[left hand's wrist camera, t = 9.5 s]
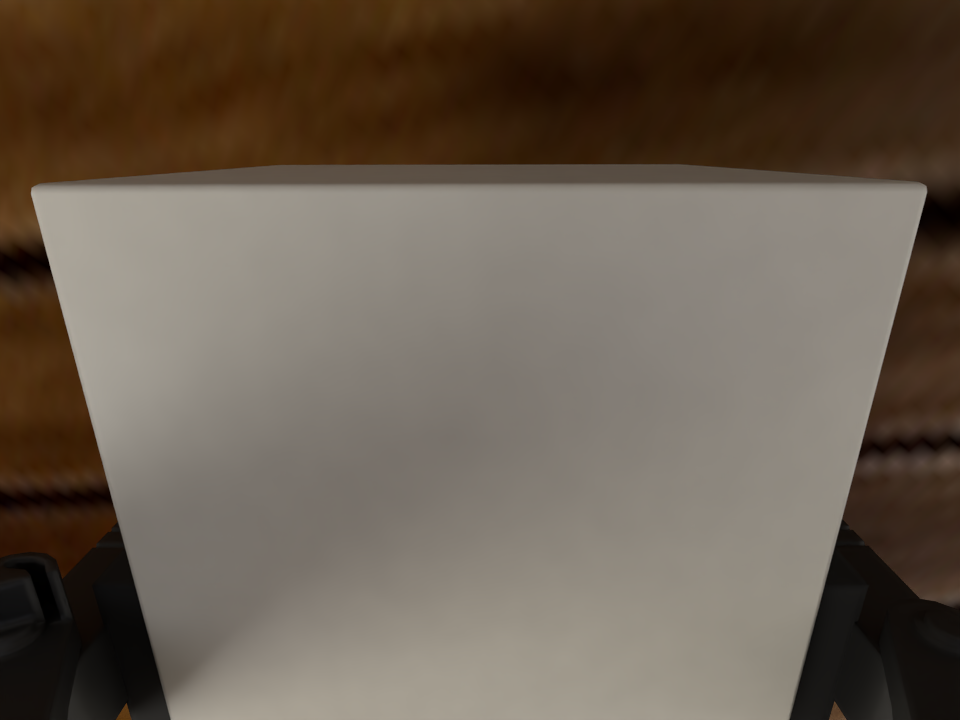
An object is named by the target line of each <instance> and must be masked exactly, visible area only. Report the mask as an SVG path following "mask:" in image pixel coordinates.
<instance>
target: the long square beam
mask: <svg viewBox="0 0 960 720" xmlns="http://www.w3.org/2000/svg"><path fill="white" fill-rule="evenodd" d="M926 194H927V187H926V186H925V185H924V184H922V183H920V182H915V181H901V180H887V179H874V178H860V177H846V176H833V175H819V174H805V173H792V172H778V171H764V170H751V169H737V168H723V167H710V166H696V165H682V164H558V165H275V166H262V167H249V168H236V169H223V170H210V171H197V172H184V173H171V174H158V175H145V176H132V177H119V178H106V179H93V180H80V181H67V182H54V183H41V184H38V185H36V186H34V187H33V188H32V190H31V195H32V199H33V203H34V207H35V210H36V214H37V218H38V222H39V225H40V229H41V233H42V237H43V240H44V244H45V248H46V252H47V256H48V259H49V263H50V267H51V271H52V274H53V278H54V282H55V286H56V289H57V293H58V297H59V301H60V304H61V308H62V312H63V316H64V320H65V323H66V327H67V331H68V335H69V338H70V342H71V346H72V350H73V353H74V357H75V361H76V365H77V368H78V372H79V376H80V380H81V384H82V387H83V391H84V395H85V399H86V402H87V406H88V410H89V414H90V417H91V421H92V425H93V429H94V432H95V436H96V440H97V444H98V448H99V451H100V455H101V459H102V463H103V466H104V470H105V474H106V478H107V481H108V485H109V489H110V493H111V496H112V500H113V504H114V508H115V511H116V515H117V519H118V523H119V527H120V530H121V534H122V538H123V542H124V545H125V549H126V553H127V557H128V560H129V564H130V568H131V572H132V575H133V579H134V583H135V587H136V591H137V594H138V598H139V602H140V606H141V609H142V613H143V617H144V621H145V624H146V628H147V632H148V636H149V639H150V643H151V647H152V651H153V655H154V658H155V662H156V666H157V670H158V673H159V677H160V681H161V685H162V688H163V692H164V696H165V700H166V703H167V707H168V711H169V715H170V719H171V720H790V716H791V713H792V709H793V705H794V701H795V697H796V693H797V690H798V686H799V682H800V678H801V674H802V670H803V667H804V663H805V659H806V655H807V651H808V647H809V643H810V640H811V636H812V632H813V628H814V624H815V620H816V617H817V613H818V609H819V605H820V601H821V597H822V594H823V590H824V586H825V582H826V578H827V574H828V571H829V567H830V563H831V559H832V555H833V551H834V547H835V544H836V540H837V536H838V532H839V528H840V524H841V521H842V517H843V513H844V509H845V505H846V501H847V498H848V494H849V490H850V486H851V482H852V478H853V474H854V471H855V467H856V463H857V459H858V455H859V451H860V448H861V444H862V440H863V436H864V432H865V428H866V425H867V421H868V417H869V413H870V409H871V405H872V402H873V398H874V394H875V390H876V386H877V382H878V378H879V375H880V371H881V367H882V363H883V359H884V355H885V352H886V348H887V344H888V340H889V336H890V332H891V329H892V325H893V321H894V317H895V313H896V309H897V305H898V302H899V298H900V294H901V290H902V286H903V282H904V279H905V275H906V271H907V267H908V263H909V259H910V256H911V252H912V248H913V244H914V240H915V236H916V233H917V229H918V225H919V221H920V217H921V213H922V209H923V206H924V202H925V198H926Z"/></svg>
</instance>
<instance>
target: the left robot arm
mask: <svg viewBox="0 0 960 720" xmlns="http://www.w3.org/2000/svg"><path fill="white" fill-rule="evenodd" d="M834 700H835V702H836V704H837V705H838V707H839V708H840V710H841V711H842V713H843V715H844V716H845V718H846V719H847V720H960V611H959V610H957V609H955V608H952V607H949V606H946V605H944V604H941V603H938V602H935V601H929V600H923V599H920V598H919V597H918V596H917V595H916V594H915V593H914V592H913V591H912V590H911V589H910V588H909V587H908V586H907V585H906V584H905V583H904V582H903V581H902V580H901V579H900V578H899V577H898V576H897V575H896V574H895V573H894V572H893V571H892V570H891V569H890V568H889V567H888V566H887V565H886V564H885V563H884V561H883V560H882V559H881V558H880V557H879V556H878V555H877V554H876V553H875V552H874V551H873V550H872V549H871V548H870V547H869V546H865V544H864V541H863V540H862V539H861V538H860V537H859V536H858V535H857V534H856V533H855V532H854V531H853V530H850V529H849V526H848V525H847V524H846V523H845V522H844V521H843V520H842V521H841V524H840V528H839V532H838V536H837V540H836V544H835V547H834V551H833V555H832V559H831V563H830V567H829V571H828V574H827V578H826V582H825V586H824V590H823V594H822V597H821V601H820V605H819V609H818V613H817V617H816V620H815V624H814V628H813V632H812V636H811V640H810V643H809V647H808V651H807V655H806V659H805V663H804V667H803V670H802V674H801V678H800V682H799V686H798V690H797V693H796V697H795V701H794V705H793V709H792V713H791V716H790V720H829V717H830V714H831V710H832V707H833V704H834ZM126 703H127V705H128V709H129V712H130V715H131V719H132V720H171V719H170V715H169V711H168V707H167V703H166V700H165V696H164V692H163V688H162V685H161V681H160V677H159V673H158V670H157V666H156V662H155V658H154V655H153V651H152V647H151V643H150V639H149V636H148V632H147V628H146V624H145V621H144V617H143V613H142V609H141V606H140V602H139V598H138V594H137V591H136V587H135V583H134V579H133V575H132V572H131V568H130V564H129V560H128V557H127V553H126V549H125V545H124V542H123V538H122V534H121V530H120V527H119V523H118V522H117V523H116V524H115V526H114V527H113V528H112V531H111V532H108V533H107V534H106V535H105V536H104V537H103V538H102V539H101V540H100V541H99V542H98V543H97V547H96V548H92V549H91V550H90V551H89V552H88V553H87V554H86V555H85V556H84V557H83V558H82V560H81V561H80V562H79V563H78V564H77V565H76V566H75V567H74V568H73V569H72V570H71V571H70V572H69V573H68V574H67V575H66V576H65V577H64V578H63V579H62V577H61V574H60V571H59V567H58V564H57V561H56V559H54V558H52V557H51V556H49V555H48V554H45V553H35V552H27V553H20V554H13V555H8V556H5V557H2V558H0V720H116V718H117V717H118V715H119V714H120V712H121V710H122V709H123V707H124V706H125V704H126Z"/></svg>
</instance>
